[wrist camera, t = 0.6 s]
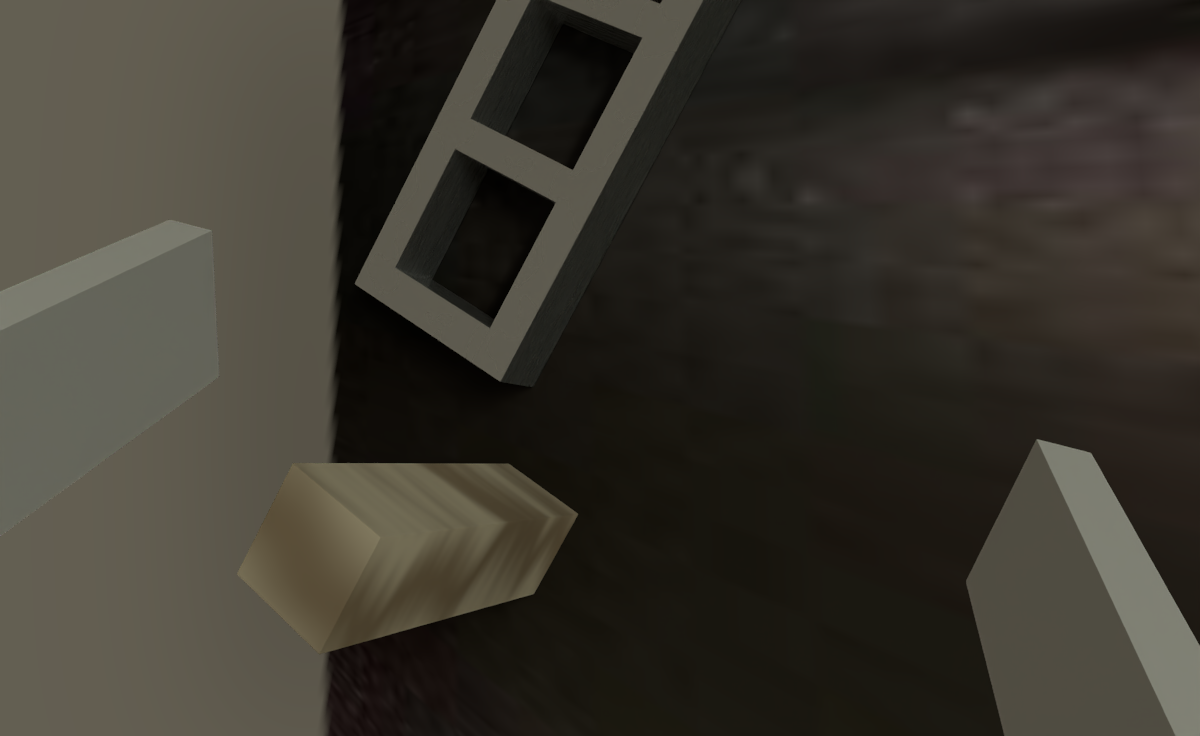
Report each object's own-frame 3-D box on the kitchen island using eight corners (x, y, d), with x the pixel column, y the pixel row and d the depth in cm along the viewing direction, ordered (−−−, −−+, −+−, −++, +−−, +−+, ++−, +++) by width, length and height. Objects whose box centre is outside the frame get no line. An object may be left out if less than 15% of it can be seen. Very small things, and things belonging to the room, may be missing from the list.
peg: (508, 463, 41) (292, 463, 28) (578, 514, 39) (380, 537, 26) (467, 540, 41) (236, 574, 29) (533, 594, 40) (319, 654, 27)
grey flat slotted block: (628, -171, 42) (603, -215, 39) (806, -121, 38) (791, -167, 35) (393, 294, 45) (354, 283, 42) (532, 387, 41) (500, 381, 38)
